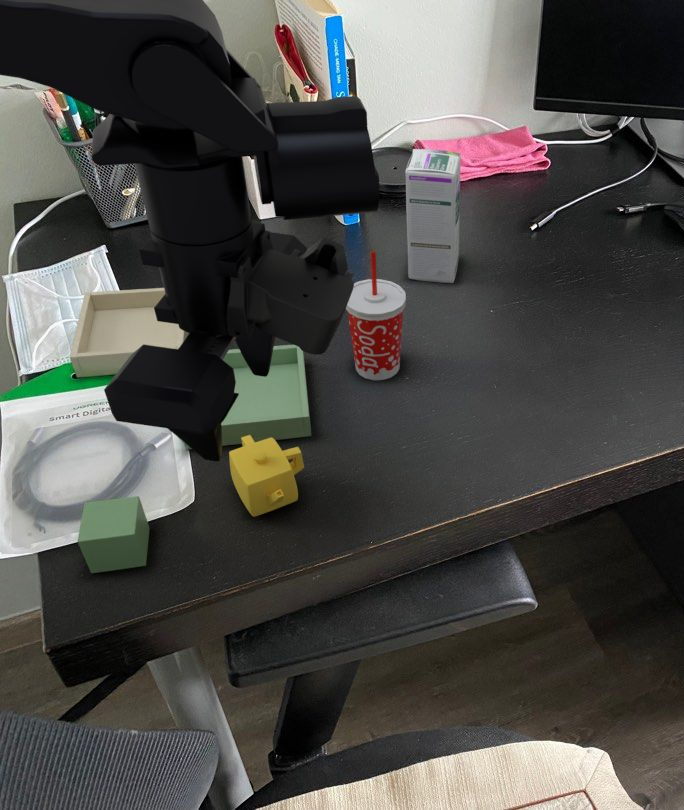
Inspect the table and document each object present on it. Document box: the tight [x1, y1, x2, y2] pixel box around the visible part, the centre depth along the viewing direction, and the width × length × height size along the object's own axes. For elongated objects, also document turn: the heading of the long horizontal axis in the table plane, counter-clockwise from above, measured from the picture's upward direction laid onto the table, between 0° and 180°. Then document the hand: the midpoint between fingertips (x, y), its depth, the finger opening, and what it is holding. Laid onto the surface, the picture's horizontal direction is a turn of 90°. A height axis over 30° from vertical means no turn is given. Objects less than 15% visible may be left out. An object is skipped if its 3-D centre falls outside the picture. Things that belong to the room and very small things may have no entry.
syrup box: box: [404, 148, 462, 284], centre depth 97 cm, size 6×6×14 cm
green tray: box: [183, 344, 312, 451], centre depth 80 cm, size 11×11×3 cm
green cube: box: [77, 495, 151, 574], centre depth 65 cm, size 4×4×4 cm
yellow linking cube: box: [228, 435, 305, 518], centre depth 70 cm, size 8×6×5 cm
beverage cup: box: [345, 250, 407, 381], centre depth 82 cm, size 6×6×14 cm
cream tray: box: [69, 287, 189, 378], centre depth 85 cm, size 10×11×3 cm
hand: (238, 414), depth 59 cm, fingers open, 9 cm apart
